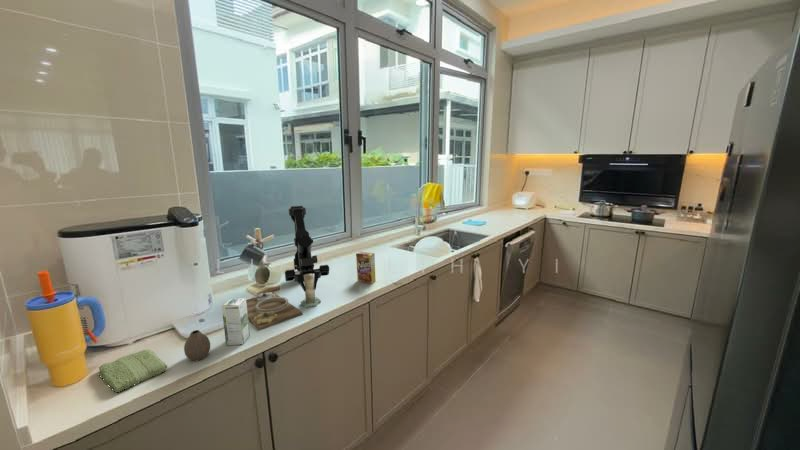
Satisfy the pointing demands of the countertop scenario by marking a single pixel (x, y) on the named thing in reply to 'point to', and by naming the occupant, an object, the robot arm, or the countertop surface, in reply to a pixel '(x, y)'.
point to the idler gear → (310, 292)
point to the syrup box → (235, 321)
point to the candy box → (365, 267)
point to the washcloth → (131, 369)
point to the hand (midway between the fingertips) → (310, 290)
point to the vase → (197, 346)
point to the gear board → (271, 305)
